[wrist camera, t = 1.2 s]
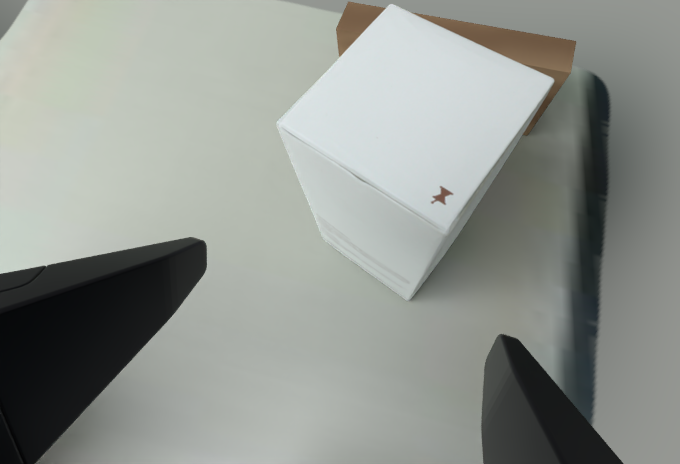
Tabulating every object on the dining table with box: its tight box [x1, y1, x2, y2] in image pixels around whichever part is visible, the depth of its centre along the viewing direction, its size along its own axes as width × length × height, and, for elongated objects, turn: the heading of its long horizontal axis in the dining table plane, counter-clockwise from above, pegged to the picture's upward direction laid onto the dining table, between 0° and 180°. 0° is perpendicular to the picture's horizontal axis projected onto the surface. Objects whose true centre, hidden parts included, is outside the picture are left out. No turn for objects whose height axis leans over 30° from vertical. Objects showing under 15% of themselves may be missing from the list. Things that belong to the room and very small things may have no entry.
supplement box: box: [276, 4, 554, 301], centre depth 18 cm, size 7×7×13 cm
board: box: [336, 2, 576, 136], centre depth 25 cm, size 2×14×6 cm, turn 71°
